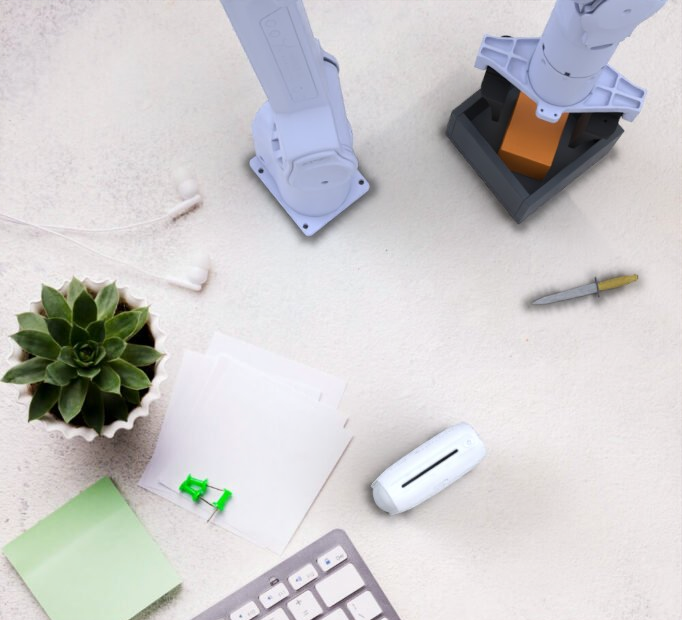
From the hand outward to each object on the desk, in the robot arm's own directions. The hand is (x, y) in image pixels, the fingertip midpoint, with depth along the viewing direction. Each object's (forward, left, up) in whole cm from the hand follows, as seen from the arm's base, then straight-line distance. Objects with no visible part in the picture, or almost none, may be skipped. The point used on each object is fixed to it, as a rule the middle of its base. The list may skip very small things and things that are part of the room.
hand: (536, 124), depth 81 cm
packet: (0, 0, -3) cm, 3 cm away
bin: (0, 0, -4) cm, 4 cm away
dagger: (+15, -5, -4) cm, 16 cm away
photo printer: (+19, -29, -4) cm, 35 cm away
